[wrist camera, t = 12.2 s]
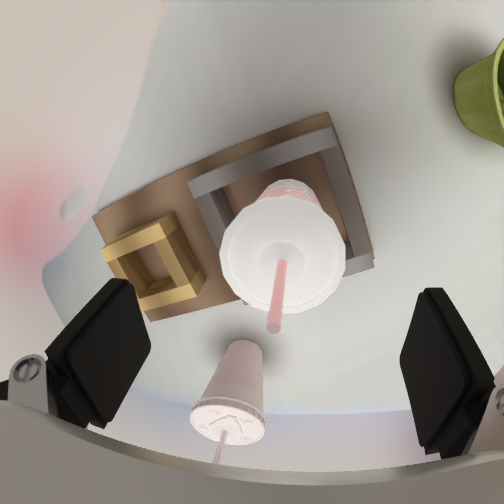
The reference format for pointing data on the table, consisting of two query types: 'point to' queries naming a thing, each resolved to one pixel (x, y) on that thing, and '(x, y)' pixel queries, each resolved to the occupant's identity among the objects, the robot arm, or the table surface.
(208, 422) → the smoothie
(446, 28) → the table surface
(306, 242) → the beverage cup
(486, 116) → the plant pot
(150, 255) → the fitting board
